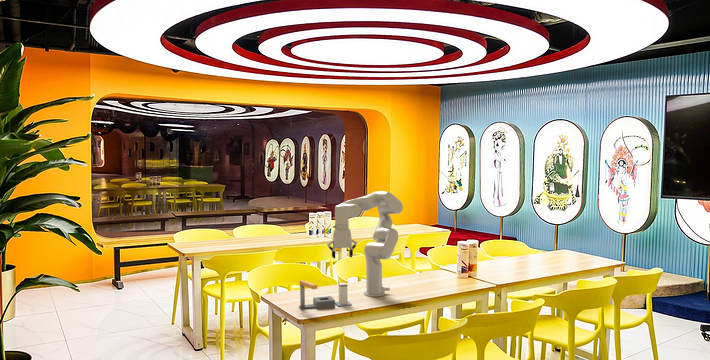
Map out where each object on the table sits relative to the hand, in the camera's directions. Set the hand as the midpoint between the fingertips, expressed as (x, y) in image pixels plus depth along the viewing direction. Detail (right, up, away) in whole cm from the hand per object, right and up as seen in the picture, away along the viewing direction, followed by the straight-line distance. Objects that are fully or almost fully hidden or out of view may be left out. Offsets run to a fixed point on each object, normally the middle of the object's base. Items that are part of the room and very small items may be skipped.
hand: (342, 257), depth 282 cm
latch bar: (-18, -14, -11) cm, 26 cm away
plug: (0, -26, 0) cm, 26 cm away
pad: (0, -26, 0) cm, 26 cm away
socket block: (-14, -27, -4) cm, 30 cm away
